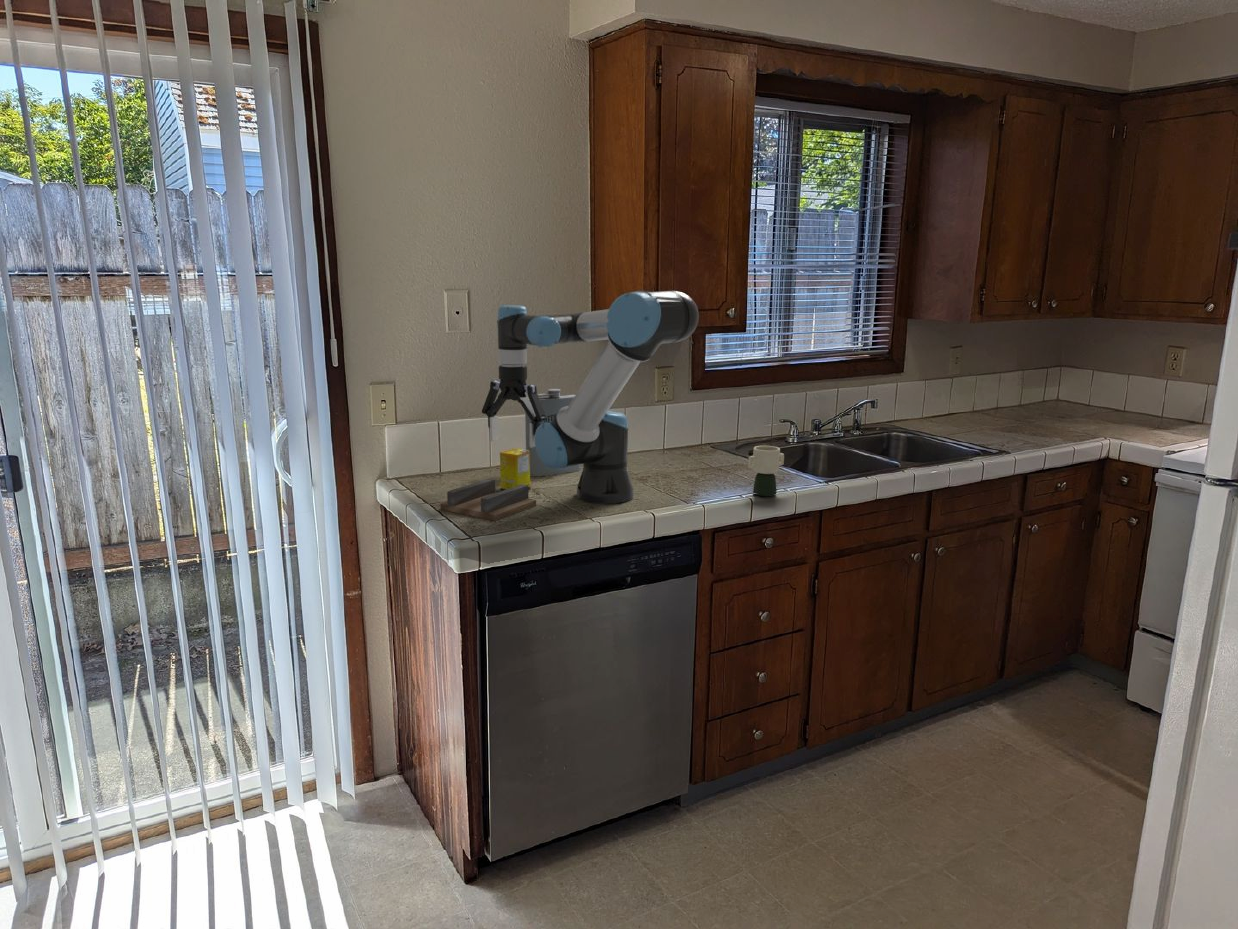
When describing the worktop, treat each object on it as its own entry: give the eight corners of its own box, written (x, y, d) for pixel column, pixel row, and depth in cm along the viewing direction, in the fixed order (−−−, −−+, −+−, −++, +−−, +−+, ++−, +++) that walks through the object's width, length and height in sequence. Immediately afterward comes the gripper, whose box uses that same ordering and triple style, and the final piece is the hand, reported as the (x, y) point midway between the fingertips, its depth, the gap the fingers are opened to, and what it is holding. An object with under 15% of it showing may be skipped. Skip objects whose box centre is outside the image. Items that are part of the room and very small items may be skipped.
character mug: (774, 490, 237) (777, 444, 234) (789, 496, 231) (791, 449, 228) (740, 493, 233) (742, 447, 230) (753, 500, 227) (756, 452, 224)
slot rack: (536, 505, 221) (535, 486, 220) (495, 520, 207) (495, 500, 206) (482, 495, 230) (482, 477, 229) (440, 509, 217) (439, 490, 216)
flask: (531, 477, 249) (529, 392, 243) (524, 474, 253) (523, 389, 247) (584, 470, 257) (584, 387, 252) (576, 467, 261) (576, 385, 255)
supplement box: (513, 486, 239) (512, 447, 237) (531, 489, 236) (530, 450, 234) (500, 491, 234) (499, 451, 232) (517, 494, 231) (516, 454, 229)
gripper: (559, 367, 224) (559, 446, 229) (486, 359, 237) (487, 435, 242) (541, 370, 218) (542, 451, 223) (467, 362, 231) (469, 439, 236)
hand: (513, 443), depth 233 cm, fingers open, 13 cm apart
